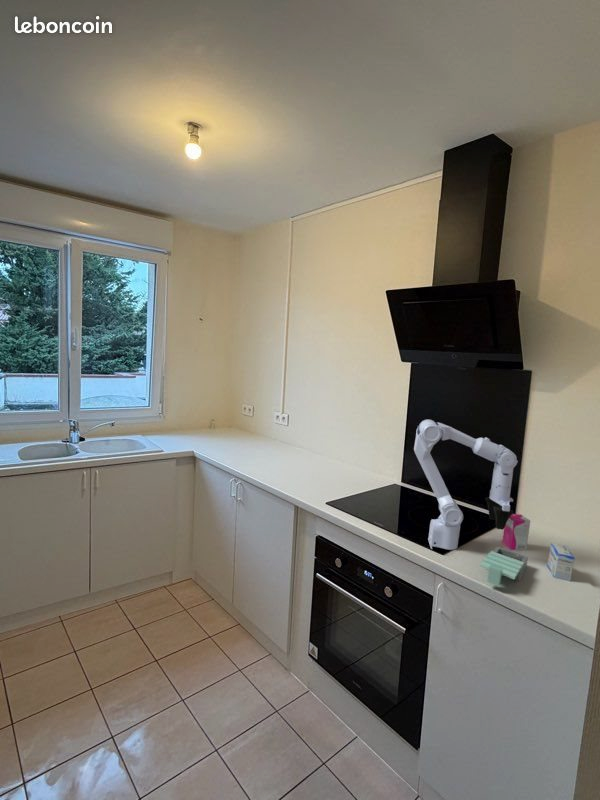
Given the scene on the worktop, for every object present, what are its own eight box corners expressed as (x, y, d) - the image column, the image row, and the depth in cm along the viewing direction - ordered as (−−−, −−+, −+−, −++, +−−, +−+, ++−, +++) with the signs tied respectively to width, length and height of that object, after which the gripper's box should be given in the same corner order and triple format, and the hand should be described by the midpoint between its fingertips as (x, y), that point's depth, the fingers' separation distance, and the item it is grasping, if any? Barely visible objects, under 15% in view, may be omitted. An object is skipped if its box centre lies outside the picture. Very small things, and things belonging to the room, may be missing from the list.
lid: (475, 577, 118) (477, 562, 117) (489, 559, 129) (491, 546, 128) (510, 591, 112) (513, 575, 111) (522, 571, 123) (524, 557, 123)
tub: (485, 571, 126) (487, 558, 126) (495, 559, 135) (497, 546, 134) (518, 584, 121) (520, 569, 120) (525, 570, 129) (528, 557, 129)
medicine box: (546, 567, 132) (550, 542, 131) (562, 571, 131) (566, 545, 130) (553, 580, 125) (558, 553, 123) (570, 584, 123) (575, 556, 122)
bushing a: (511, 569, 127) (513, 561, 127) (508, 564, 130) (510, 556, 130) (522, 571, 127) (523, 562, 126) (518, 566, 130) (520, 558, 129)
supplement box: (516, 544, 147) (521, 513, 146) (526, 552, 141) (531, 520, 140) (501, 543, 147) (505, 512, 146) (510, 551, 141) (514, 519, 140)
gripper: (522, 493, 128) (516, 535, 130) (507, 479, 142) (502, 516, 144) (498, 490, 129) (493, 532, 131) (485, 476, 143) (480, 514, 145)
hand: (496, 524), depth 137 cm, fingers open, 7 cm apart
